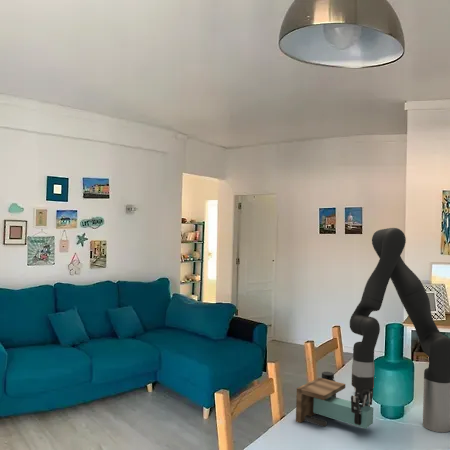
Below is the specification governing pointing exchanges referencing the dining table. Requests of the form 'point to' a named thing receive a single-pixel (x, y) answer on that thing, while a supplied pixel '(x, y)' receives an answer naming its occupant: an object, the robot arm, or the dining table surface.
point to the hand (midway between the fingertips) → (361, 421)
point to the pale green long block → (342, 411)
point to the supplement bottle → (328, 377)
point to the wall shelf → (306, 398)
